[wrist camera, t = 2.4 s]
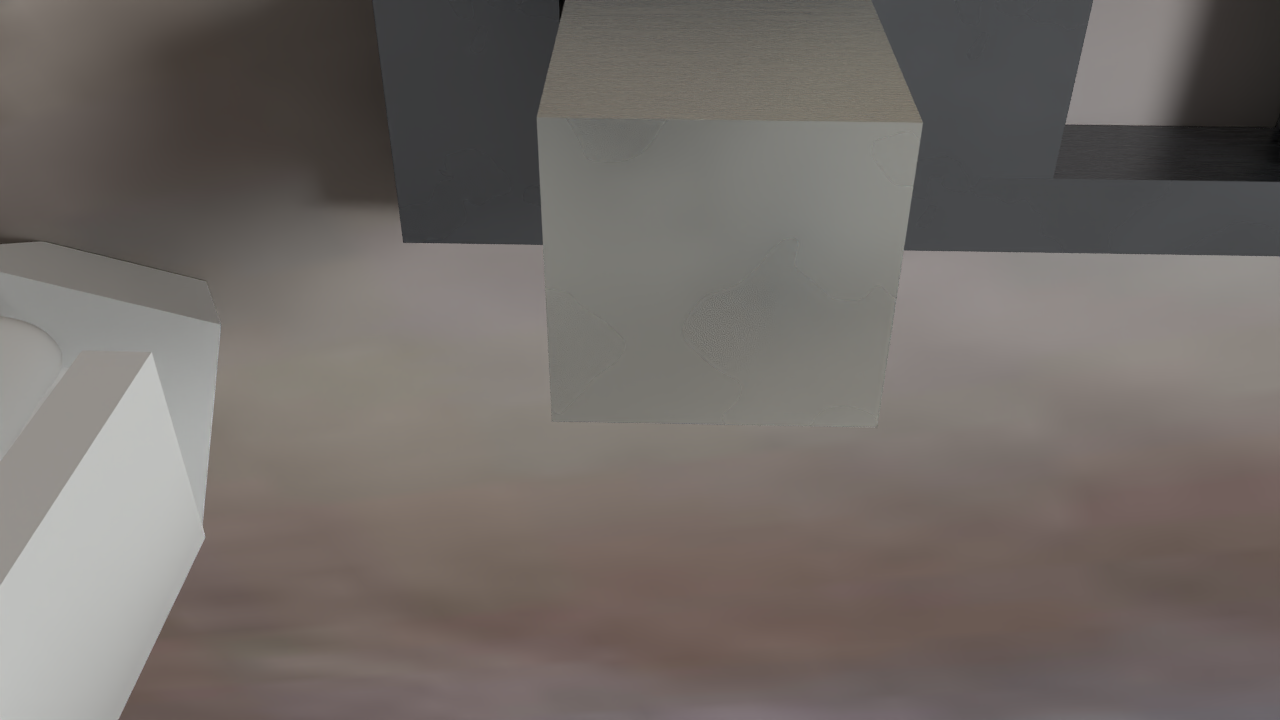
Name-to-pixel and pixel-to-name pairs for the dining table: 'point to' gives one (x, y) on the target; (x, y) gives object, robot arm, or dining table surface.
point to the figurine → (106, 337)
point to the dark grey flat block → (948, 153)
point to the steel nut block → (723, 210)
